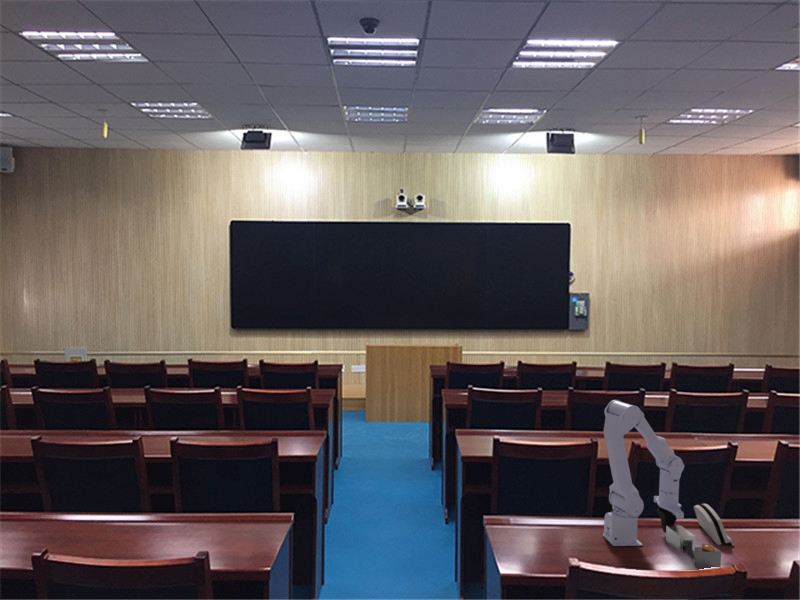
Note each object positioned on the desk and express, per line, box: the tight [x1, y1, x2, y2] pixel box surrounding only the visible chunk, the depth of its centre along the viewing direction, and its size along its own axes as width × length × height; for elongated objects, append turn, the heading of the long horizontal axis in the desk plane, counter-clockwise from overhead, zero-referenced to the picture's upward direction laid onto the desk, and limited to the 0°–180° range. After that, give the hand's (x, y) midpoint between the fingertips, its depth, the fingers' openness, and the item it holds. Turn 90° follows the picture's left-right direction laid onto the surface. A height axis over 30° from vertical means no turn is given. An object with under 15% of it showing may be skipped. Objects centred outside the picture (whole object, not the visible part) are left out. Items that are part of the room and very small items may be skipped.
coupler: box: [687, 543, 722, 570], centre depth 170 cm, size 6×11×6 cm, turn 4°
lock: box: [665, 524, 696, 553], centre depth 180 cm, size 8×5×5 cm, turn 4°
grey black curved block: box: [693, 503, 735, 547], centre depth 190 cm, size 17×5×10 cm, turn 171°
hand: (667, 532), depth 188 cm, fingers closed
